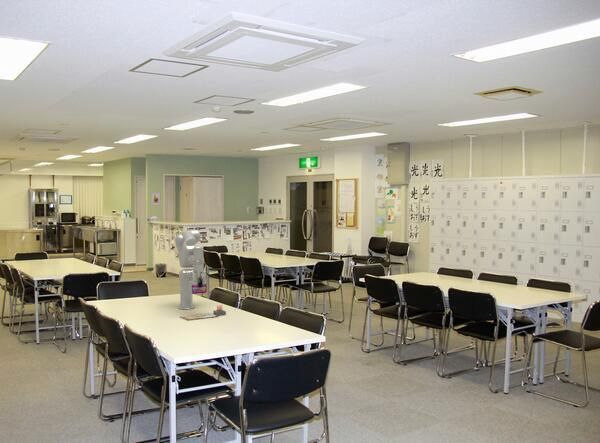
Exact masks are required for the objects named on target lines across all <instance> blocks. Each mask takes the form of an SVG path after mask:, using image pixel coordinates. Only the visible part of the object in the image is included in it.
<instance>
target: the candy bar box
mask: <svg viewBox="0 0 600 443" xmlns="http://www.w3.org/2000/svg"><path fill="white" fill-rule="evenodd" d="M203 271H204V277H203V282H202V284H203V287H201V288H198V282H199V280H198V278H196V272H195V271H193V272H191V281H190V283H191V293H192V295H196V294H198V295H199V294H207V292H208V291H207V290H208V287H207V286H208V285H207V271H206V270H203ZM199 278H201V277H199Z"/></svg>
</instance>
